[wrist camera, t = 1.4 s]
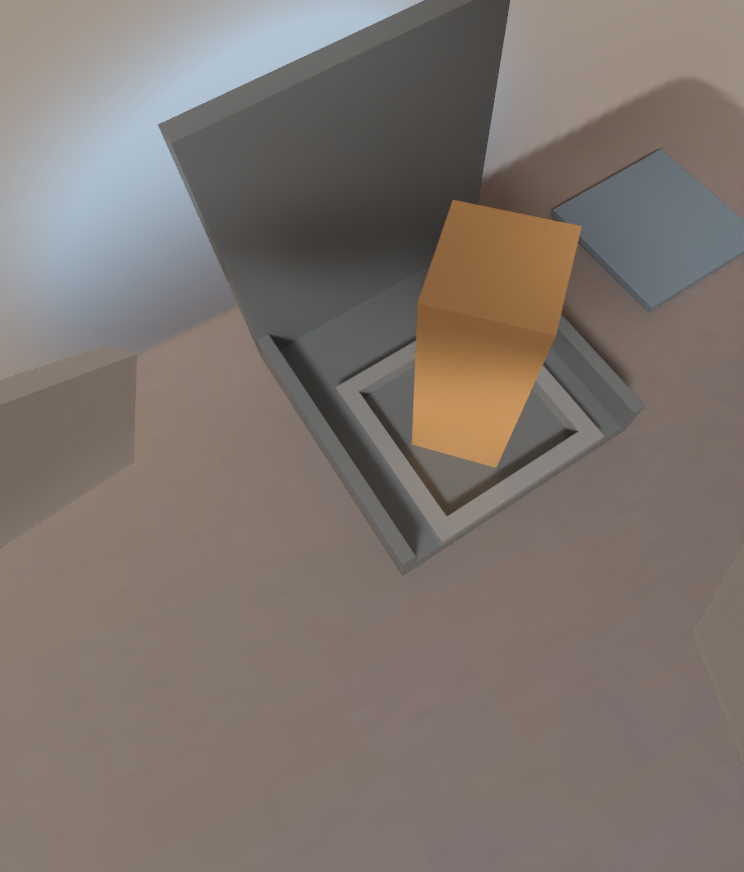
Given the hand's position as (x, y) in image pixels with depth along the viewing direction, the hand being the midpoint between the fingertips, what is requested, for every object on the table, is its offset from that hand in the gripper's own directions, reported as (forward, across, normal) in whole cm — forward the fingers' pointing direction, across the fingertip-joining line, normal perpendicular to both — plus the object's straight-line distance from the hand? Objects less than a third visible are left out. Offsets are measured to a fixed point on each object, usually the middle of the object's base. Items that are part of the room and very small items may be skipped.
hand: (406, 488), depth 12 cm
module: (+22, +1, -6) cm, 23 cm away
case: (+24, -2, -6) cm, 25 cm away
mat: (+36, +10, +6) cm, 38 cm away
